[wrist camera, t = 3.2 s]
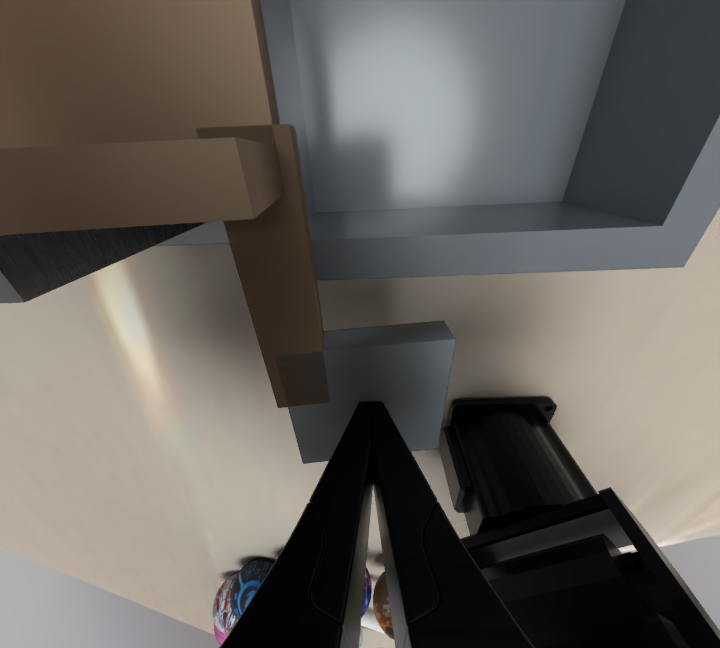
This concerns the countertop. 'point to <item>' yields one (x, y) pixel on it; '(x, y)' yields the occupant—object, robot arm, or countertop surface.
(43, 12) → the tipping lever
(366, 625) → the decorated egg ring holder
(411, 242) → the grey open tray
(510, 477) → the robot arm
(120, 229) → the lever stand
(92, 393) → the countertop surface
